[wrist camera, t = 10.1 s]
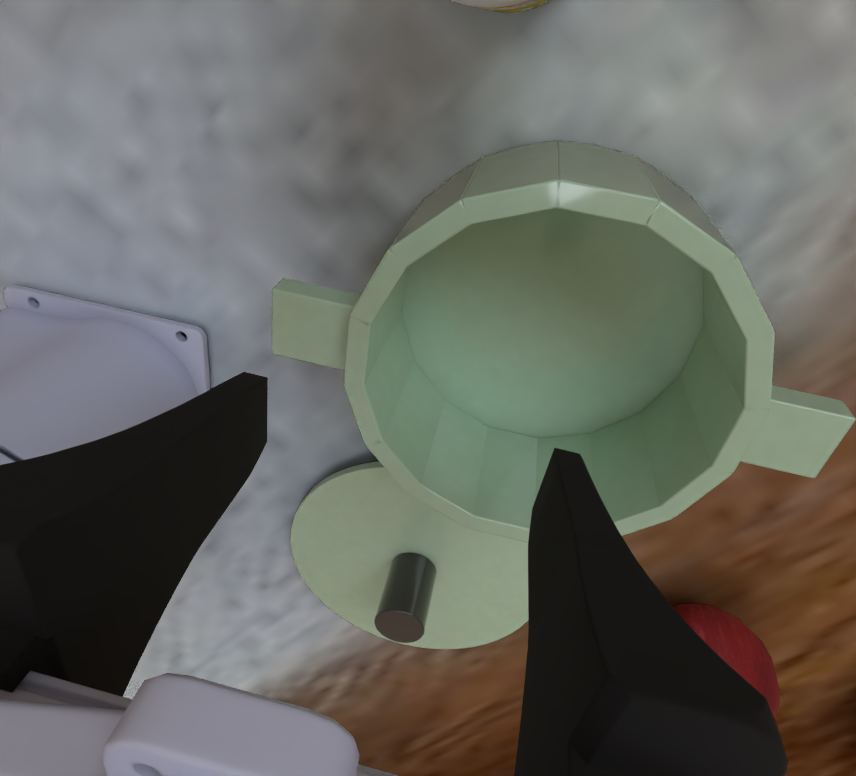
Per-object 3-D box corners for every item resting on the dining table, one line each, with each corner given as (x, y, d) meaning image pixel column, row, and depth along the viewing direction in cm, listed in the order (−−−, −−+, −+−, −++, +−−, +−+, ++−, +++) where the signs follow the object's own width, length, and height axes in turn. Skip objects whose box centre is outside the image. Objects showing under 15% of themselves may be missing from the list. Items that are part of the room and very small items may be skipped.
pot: (710, 483, 25) (748, 597, 20) (317, 392, 27) (263, 478, 22) (873, 198, 19) (990, 266, 14) (334, 93, 20) (259, 118, 15)
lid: (513, 655, 34) (507, 735, 31) (294, 599, 35) (263, 669, 31) (579, 490, 27) (584, 569, 23) (301, 424, 28) (260, 489, 24)
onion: (604, 595, 30) (618, 758, 24) (705, 549, 27) (753, 720, 21) (673, 655, 32) (705, 824, 25) (776, 617, 29) (842, 796, 22)
